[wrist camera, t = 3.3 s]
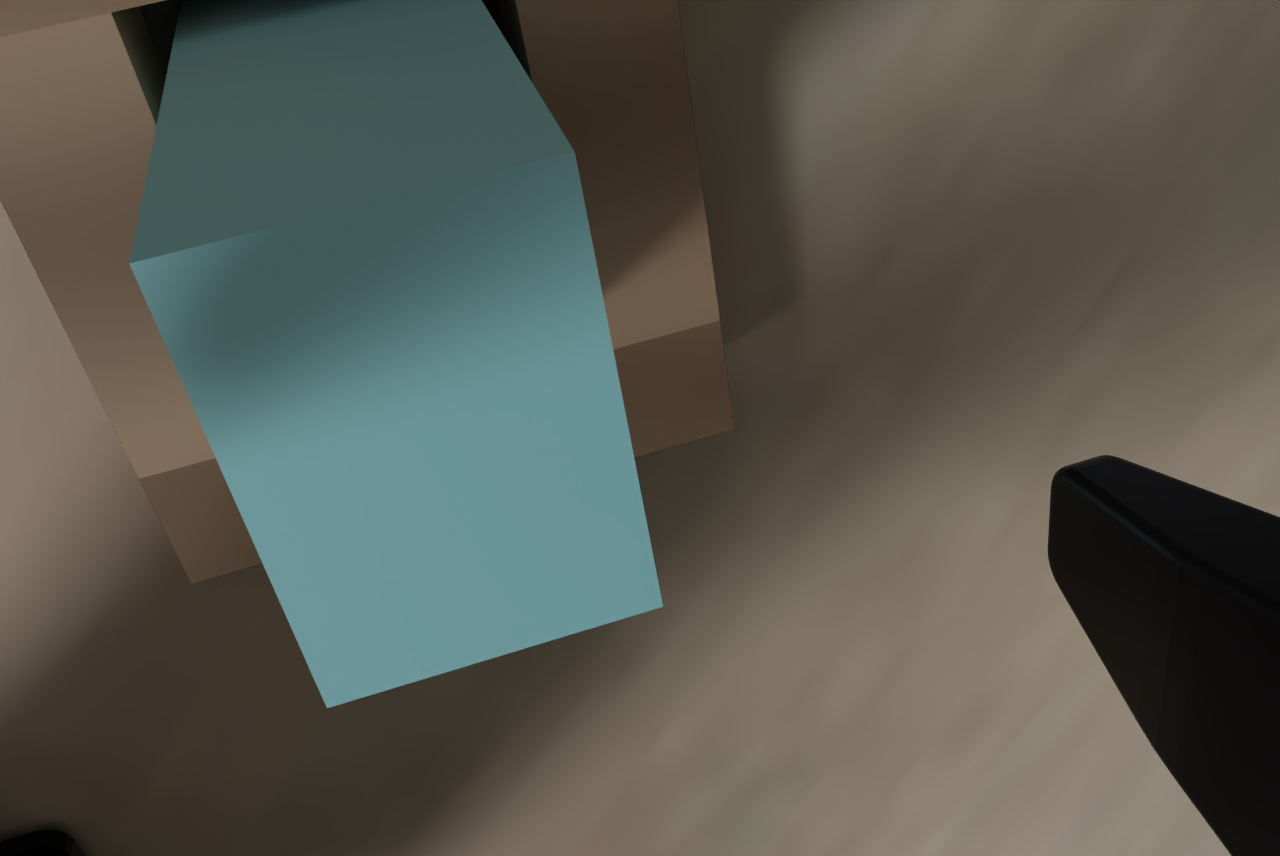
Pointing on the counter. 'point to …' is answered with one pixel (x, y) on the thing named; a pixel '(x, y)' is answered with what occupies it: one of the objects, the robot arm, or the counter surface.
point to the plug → (392, 332)
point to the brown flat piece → (115, 178)
